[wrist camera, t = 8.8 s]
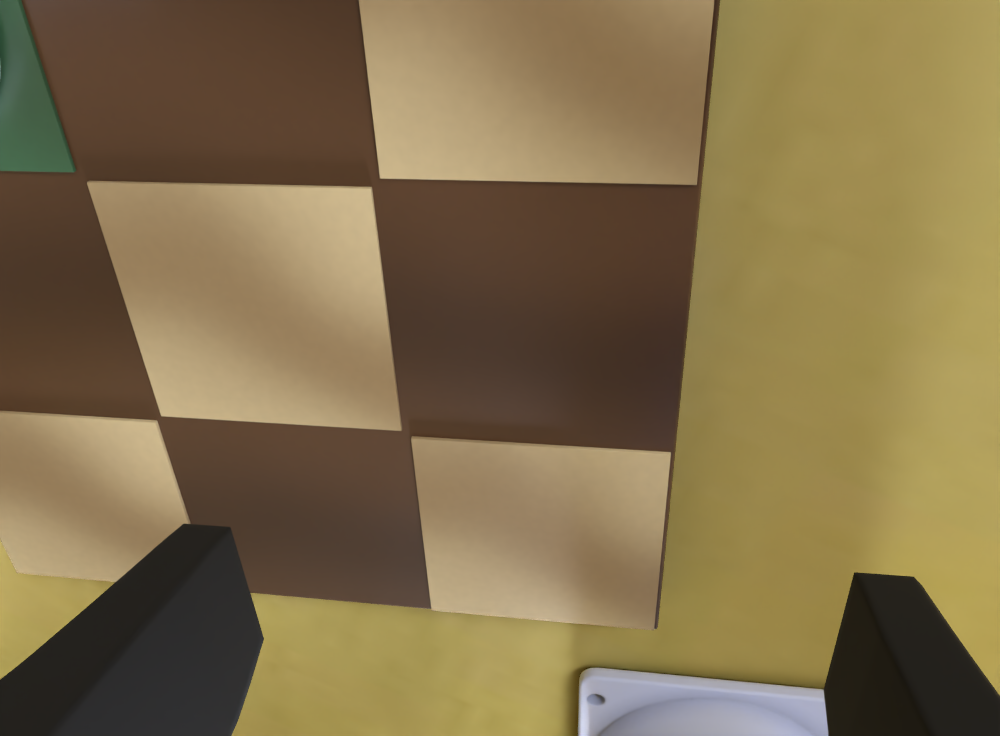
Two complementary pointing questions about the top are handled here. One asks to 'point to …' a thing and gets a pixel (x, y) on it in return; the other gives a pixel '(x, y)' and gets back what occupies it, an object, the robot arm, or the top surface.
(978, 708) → the robot arm
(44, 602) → the top surface
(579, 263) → the game board
